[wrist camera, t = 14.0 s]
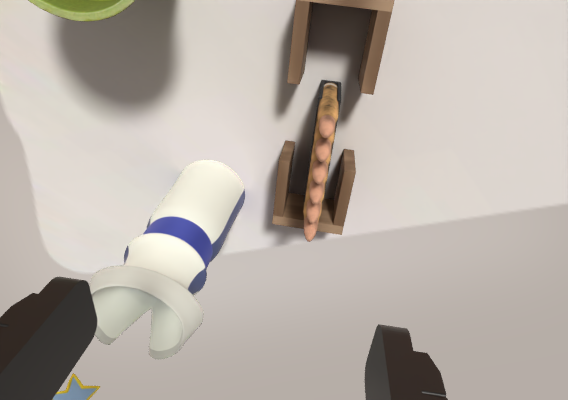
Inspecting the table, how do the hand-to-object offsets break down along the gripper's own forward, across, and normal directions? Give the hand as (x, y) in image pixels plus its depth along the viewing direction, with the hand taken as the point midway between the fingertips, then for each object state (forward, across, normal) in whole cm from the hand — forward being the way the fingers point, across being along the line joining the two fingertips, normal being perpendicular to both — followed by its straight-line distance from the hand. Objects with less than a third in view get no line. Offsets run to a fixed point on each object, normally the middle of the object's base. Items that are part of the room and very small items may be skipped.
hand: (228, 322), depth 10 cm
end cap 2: (+29, -2, +10) cm, 31 cm away
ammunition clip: (+29, -2, +5) cm, 30 cm away
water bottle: (+29, +9, +14) cm, 34 cm away
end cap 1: (+29, -3, -4) cm, 30 cm away
